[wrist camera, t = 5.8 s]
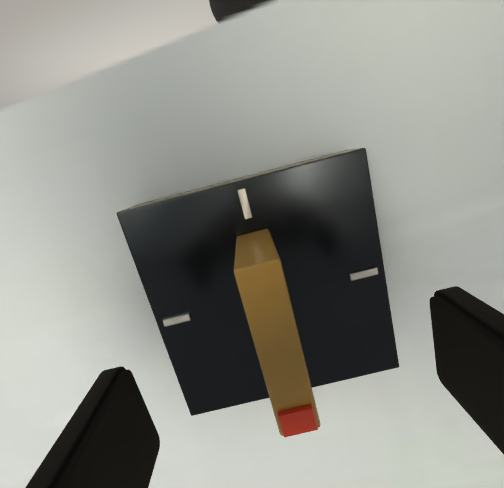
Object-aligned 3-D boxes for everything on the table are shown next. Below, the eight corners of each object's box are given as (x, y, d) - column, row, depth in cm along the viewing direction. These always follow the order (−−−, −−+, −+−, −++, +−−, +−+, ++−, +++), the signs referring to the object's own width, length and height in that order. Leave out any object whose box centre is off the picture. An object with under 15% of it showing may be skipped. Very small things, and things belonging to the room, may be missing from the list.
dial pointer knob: (236, 235, 15) (232, 272, 10) (268, 227, 15) (281, 260, 10) (269, 358, 17) (281, 443, 12) (298, 351, 17) (323, 433, 12)
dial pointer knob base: (136, 204, 18) (114, 213, 14) (345, 150, 17) (367, 147, 14) (198, 380, 21) (190, 418, 17) (377, 338, 20) (401, 369, 17)
